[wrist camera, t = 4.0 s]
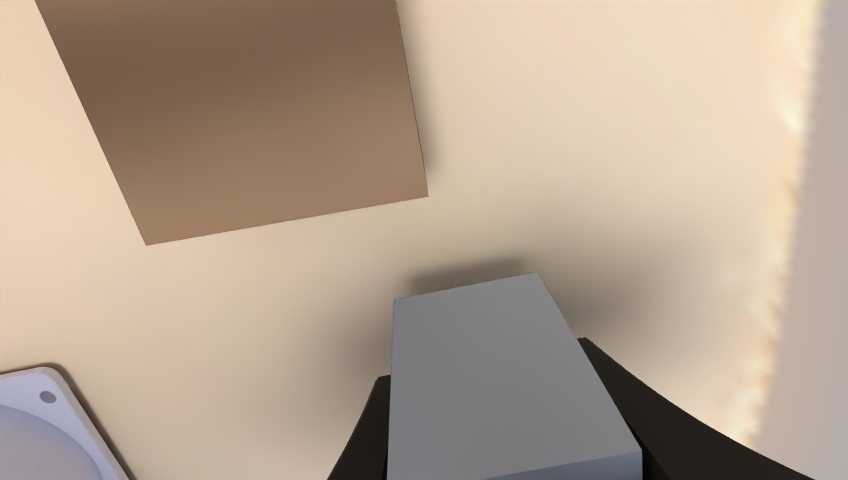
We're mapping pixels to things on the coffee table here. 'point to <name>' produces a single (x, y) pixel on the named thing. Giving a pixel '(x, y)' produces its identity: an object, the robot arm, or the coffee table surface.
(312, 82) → the walnut block
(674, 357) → the coffee table surface
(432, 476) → the blue block
